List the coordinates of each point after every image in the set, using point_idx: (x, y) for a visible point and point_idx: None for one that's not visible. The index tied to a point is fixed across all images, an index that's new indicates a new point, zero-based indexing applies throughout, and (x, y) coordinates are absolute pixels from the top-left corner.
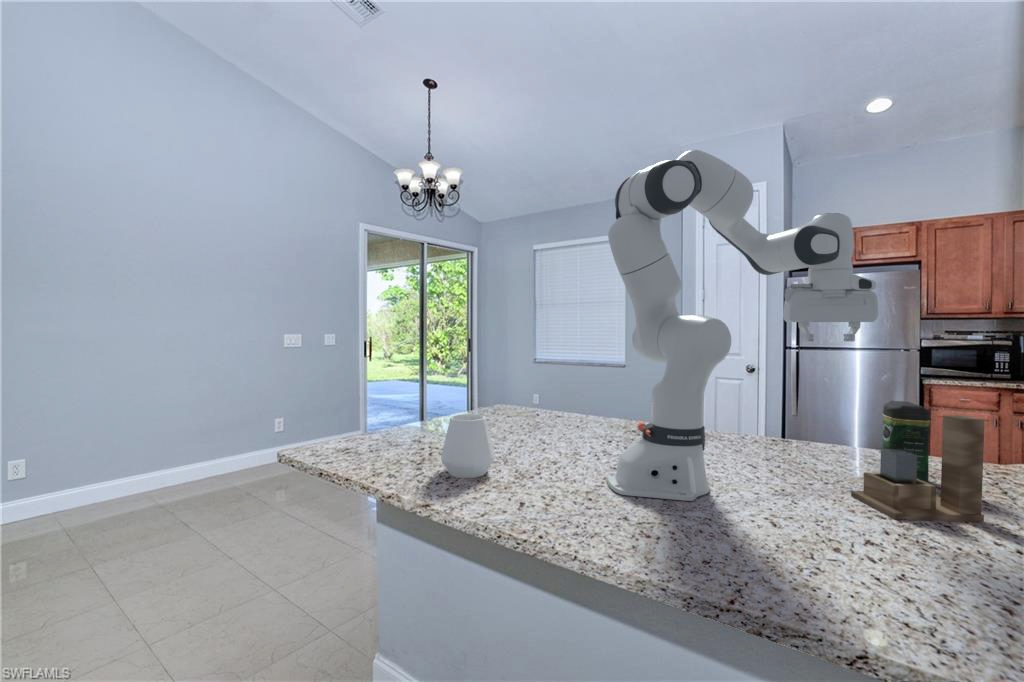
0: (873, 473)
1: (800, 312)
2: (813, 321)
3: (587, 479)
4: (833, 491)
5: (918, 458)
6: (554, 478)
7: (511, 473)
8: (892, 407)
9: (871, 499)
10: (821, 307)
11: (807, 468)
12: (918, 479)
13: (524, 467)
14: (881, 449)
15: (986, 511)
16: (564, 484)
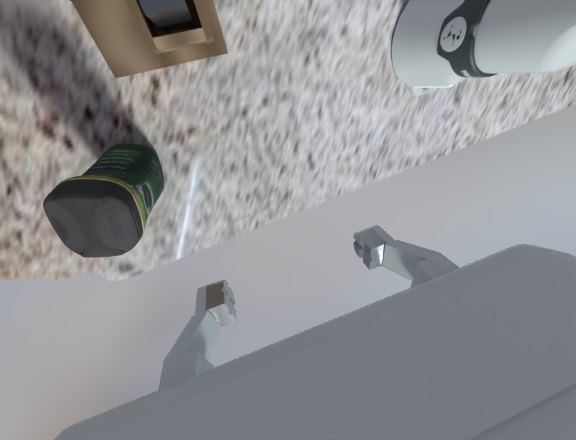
0: (199, 32)
1: (563, 293)
2: (429, 280)
3: None
4: (244, 72)
5: (109, 156)
6: None
7: None
8: (124, 208)
9: (209, 6)
10: (481, 395)
11: (250, 174)
12: (128, 3)
13: None
14: (185, 4)
15: (34, 21)
16: None
